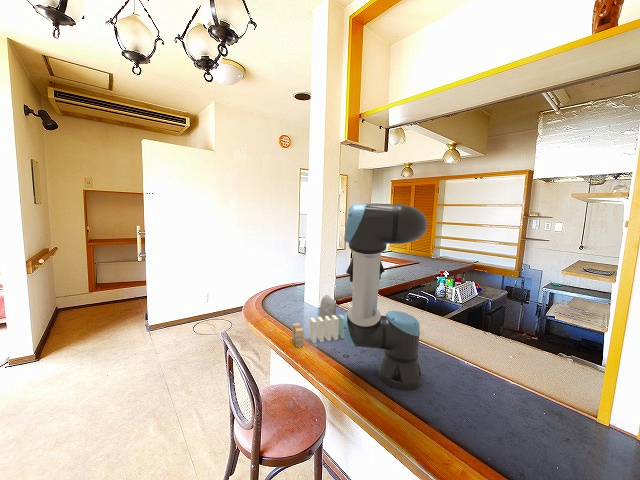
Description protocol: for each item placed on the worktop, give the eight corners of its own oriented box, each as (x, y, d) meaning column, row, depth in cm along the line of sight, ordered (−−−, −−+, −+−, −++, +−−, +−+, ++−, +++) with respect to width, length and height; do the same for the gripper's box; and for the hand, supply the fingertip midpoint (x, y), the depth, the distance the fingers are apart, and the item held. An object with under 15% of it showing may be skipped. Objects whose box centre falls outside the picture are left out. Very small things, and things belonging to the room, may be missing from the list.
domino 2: (323, 341, 123) (324, 320, 121) (320, 342, 122) (320, 321, 121) (320, 336, 127) (320, 316, 126) (316, 337, 127) (317, 317, 126)
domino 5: (345, 338, 126) (345, 318, 125) (342, 339, 125) (342, 318, 124) (340, 333, 131) (341, 314, 130) (337, 334, 130) (338, 314, 129)
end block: (303, 346, 118) (303, 330, 117) (296, 347, 117) (296, 331, 116) (298, 338, 125) (298, 322, 125) (292, 339, 124) (292, 323, 124)
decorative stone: (338, 326, 140) (338, 298, 138) (329, 329, 136) (330, 300, 134) (324, 319, 148) (324, 293, 146) (315, 322, 144) (316, 295, 142)
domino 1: (316, 342, 121) (316, 321, 120) (312, 343, 121) (313, 322, 120) (312, 337, 126) (313, 317, 125) (309, 338, 126) (310, 317, 124)
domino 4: (338, 339, 125) (338, 319, 124) (334, 340, 124) (335, 319, 123) (334, 334, 130) (334, 315, 128) (331, 335, 129) (331, 315, 128)
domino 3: (330, 340, 124) (331, 320, 123) (327, 341, 123) (328, 320, 122) (327, 335, 128) (327, 315, 127) (324, 336, 128) (324, 316, 127)
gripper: (384, 243, 137) (382, 283, 139) (340, 244, 128) (338, 287, 130) (393, 244, 130) (390, 287, 132) (347, 245, 121) (345, 291, 123)
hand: (365, 287), depth 131 cm, fingers open, 13 cm apart
